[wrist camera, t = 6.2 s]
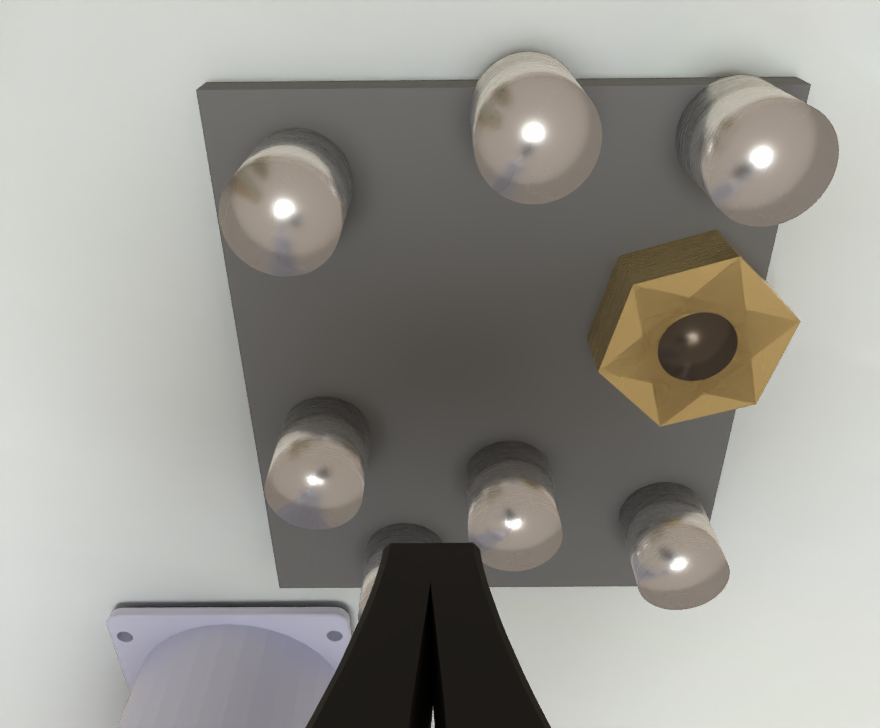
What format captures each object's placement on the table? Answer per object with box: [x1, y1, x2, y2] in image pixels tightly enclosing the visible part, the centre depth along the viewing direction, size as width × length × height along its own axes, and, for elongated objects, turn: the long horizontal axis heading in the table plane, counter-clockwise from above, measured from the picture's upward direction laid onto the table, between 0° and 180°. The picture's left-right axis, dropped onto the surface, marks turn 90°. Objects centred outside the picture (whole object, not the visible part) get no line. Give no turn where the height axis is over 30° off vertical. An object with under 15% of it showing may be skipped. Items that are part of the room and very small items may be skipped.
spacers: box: [219, 52, 839, 620], centre depth 19 cm, size 15×12×2 cm
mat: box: [196, 77, 811, 588], centre depth 20 cm, size 15×13×1 cm
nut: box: [587, 229, 800, 427], centre depth 18 cm, size 4×5×2 cm
